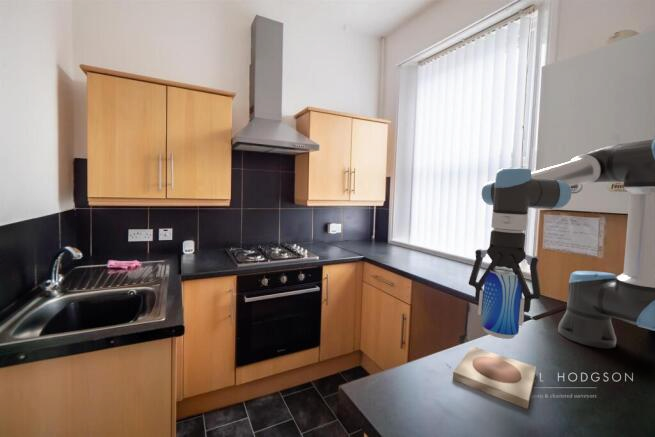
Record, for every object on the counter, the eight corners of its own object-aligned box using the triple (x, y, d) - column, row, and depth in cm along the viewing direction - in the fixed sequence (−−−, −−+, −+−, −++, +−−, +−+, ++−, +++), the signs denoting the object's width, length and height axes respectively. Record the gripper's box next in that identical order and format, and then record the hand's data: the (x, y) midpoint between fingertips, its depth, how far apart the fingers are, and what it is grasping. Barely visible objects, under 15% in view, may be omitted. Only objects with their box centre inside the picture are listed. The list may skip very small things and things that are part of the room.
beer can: (523, 342, 73) (530, 277, 72) (486, 337, 75) (491, 274, 74) (510, 327, 81) (515, 269, 80) (476, 323, 83) (481, 266, 82)
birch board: (535, 373, 81) (536, 365, 81) (527, 409, 67) (528, 398, 67) (471, 352, 91) (472, 344, 91) (452, 379, 77) (453, 370, 77)
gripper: (459, 227, 80) (452, 310, 81) (560, 236, 66) (550, 336, 68) (467, 225, 86) (460, 303, 87) (561, 234, 72) (551, 326, 74)
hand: (500, 318), depth 78 cm, fingers closed on beer can, 8 cm apart
